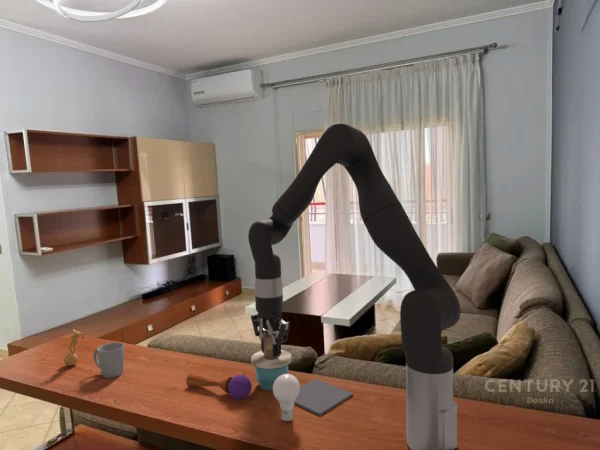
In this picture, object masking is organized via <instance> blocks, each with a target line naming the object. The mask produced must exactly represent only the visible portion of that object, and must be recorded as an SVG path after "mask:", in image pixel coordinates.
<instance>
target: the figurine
mask: <svg viewBox="0 0 600 450" xmlns="http://www.w3.org/2000/svg"><path fill="white" fill-rule="evenodd" d="M80 335H82V337H81V339H82V340H85V332H82V331H81V332H80V331H77V330H76V329H74V328H73V329H71V335H70V336H69V337H68V338H67V339H66V341H64V343H63V345H62V346H61V350H62V349H63V348H64V346H66V344H67V343H68V341H70V340H71V341H70V342H69V344H68V345H67V349H68V350H69V353H67V354H66V355H65V356H64V358H63V363H64V364H65V366H68V367H72V366H74V365H76V364H77V363H78V360H79V356H78V355H77V354H76V353H75V352H76V351H77V346H76V345H77V344H78V342H79V340H78V339H79V338H80ZM71 347H73V348H71ZM73 349H74V350H73Z"/></svg>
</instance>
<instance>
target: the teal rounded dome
mask: <svg viewBox="0 0 600 450" xmlns="http://www.w3.org/2000/svg"><path fill="white" fill-rule="evenodd" d="M254 368H255V380H256V382H257V383H258V384H259V388H260V389H262V390H263V391H268V392H273V384H274V381H275V380H276V378H277V377H279V376H280V375H282V374H289V364H288V365H286V366H284V367H280V368H275V369H263V368H258V367H256V366H254Z"/></svg>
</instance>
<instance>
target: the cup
mask: <svg viewBox="0 0 600 450" xmlns="http://www.w3.org/2000/svg"><path fill="white" fill-rule="evenodd" d="M93 361H94V363H95V365H96V366H97V367H98V368H99V369H100V372H101V376H102V378H105V379H113V378H117V377H119V376H122V374H123V373H124V364H125V363H124V362H125V343H123V342H120V341H119V342H117V341H116V342H108V343H105V344H104V343H103V344H102V345H100V346H98V347H97V348H96V349H95V350H94V351H93Z"/></svg>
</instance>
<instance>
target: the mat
mask: <svg viewBox="0 0 600 450" xmlns="http://www.w3.org/2000/svg"><path fill="white" fill-rule="evenodd" d="M353 396H354V393H353V392H351V391H347V390H346V389H343V388H341V387H338V386H335V385H333V384H331V383H328V382H325V381H323V380H320V379H317V378H314V379H312V380H310V381H308V382H306V383H305V384H303V385H300V392H299V395H298V397H297V399H296V400H295V402H294V406H295V405H296V406H298V407H300V408H302V409H304V410H306V411H308V412H311V413H313V414H315V415H317V416H319V417H321V416H323V415H324V414H326V413H327V412H329V411H330V410H332V409H334V408H335V407H337V406H338V405H341V404H342V403H344V401H347V400H348V399H350V398H352V397H353Z"/></svg>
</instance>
